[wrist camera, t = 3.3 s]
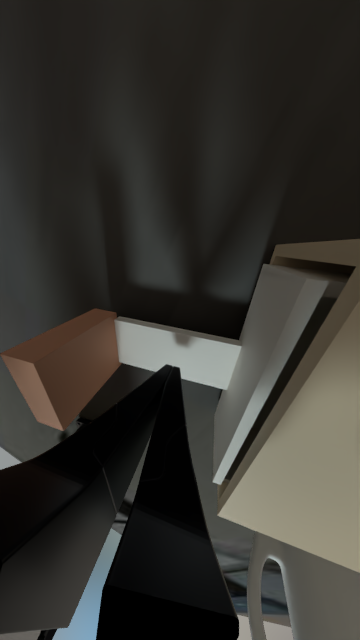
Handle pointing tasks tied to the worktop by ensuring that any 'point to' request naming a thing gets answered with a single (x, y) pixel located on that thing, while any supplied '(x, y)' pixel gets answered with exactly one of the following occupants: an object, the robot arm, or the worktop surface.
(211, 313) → the worktop surface
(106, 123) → the worktop surface
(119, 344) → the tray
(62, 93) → the worktop surface
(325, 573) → the mug
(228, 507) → the cream cardboard box
